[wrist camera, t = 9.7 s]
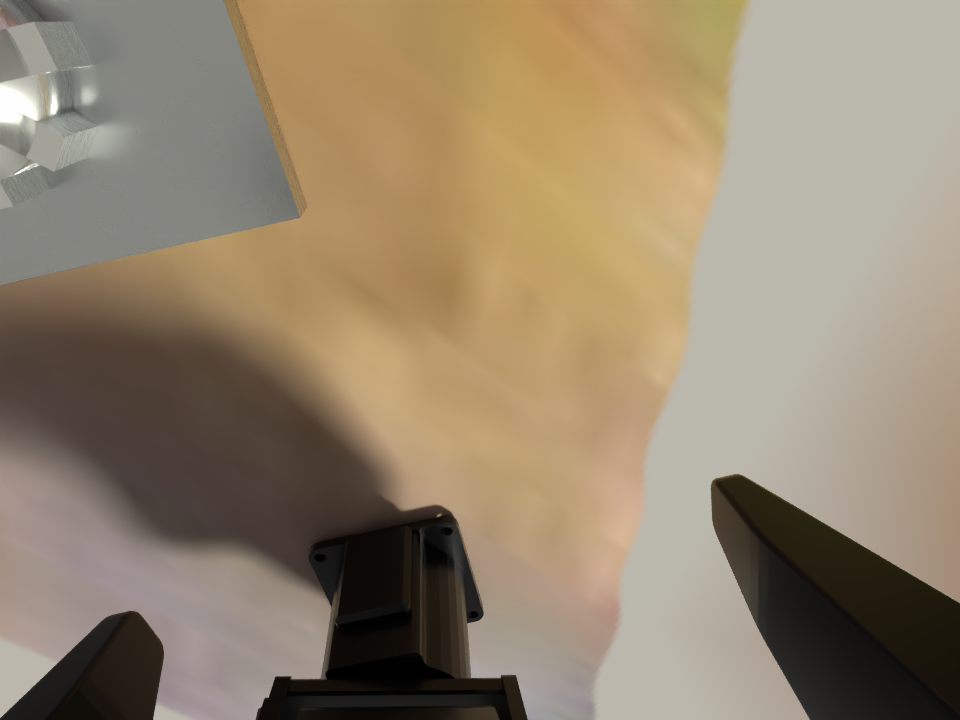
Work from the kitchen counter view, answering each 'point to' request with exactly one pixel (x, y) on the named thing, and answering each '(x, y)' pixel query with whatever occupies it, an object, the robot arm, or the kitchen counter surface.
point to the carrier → (131, 132)
